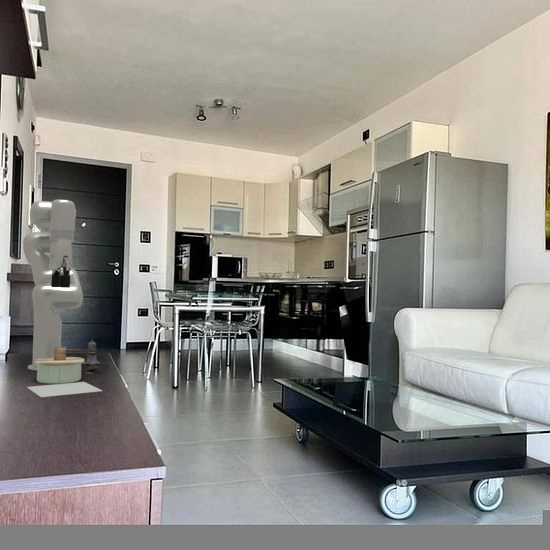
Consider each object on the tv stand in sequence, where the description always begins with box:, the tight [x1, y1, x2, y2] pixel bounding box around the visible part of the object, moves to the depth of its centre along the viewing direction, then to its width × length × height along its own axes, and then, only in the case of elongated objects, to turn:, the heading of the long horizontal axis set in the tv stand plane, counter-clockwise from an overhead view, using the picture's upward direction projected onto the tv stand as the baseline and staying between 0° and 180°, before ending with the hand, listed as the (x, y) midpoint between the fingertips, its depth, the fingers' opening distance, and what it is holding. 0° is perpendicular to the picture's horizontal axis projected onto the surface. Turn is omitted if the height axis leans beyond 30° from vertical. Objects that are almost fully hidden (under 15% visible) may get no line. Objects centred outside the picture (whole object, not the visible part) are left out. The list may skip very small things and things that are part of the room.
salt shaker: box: [82, 339, 101, 375], centre depth 186 cm, size 6×6×12 cm
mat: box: [26, 381, 103, 398], centre depth 154 cm, size 17×17×1 cm
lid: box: [34, 346, 85, 366], centre depth 169 cm, size 15×15×5 cm
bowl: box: [36, 363, 82, 384], centre depth 169 cm, size 13×13×6 cm
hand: (60, 287), depth 175 cm, fingers open, 9 cm apart
